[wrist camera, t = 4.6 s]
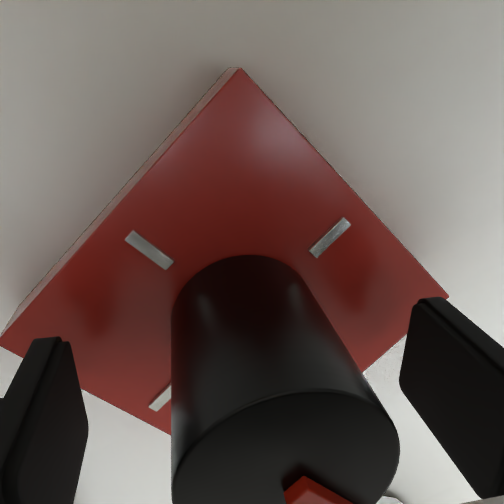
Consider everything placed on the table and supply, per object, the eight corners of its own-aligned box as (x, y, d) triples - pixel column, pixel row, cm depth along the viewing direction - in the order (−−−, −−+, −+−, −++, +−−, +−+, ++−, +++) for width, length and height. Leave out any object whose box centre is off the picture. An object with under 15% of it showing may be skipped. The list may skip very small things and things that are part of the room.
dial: (139, 330, 12) (116, 529, 7) (242, 224, 11) (305, 358, 6) (244, 396, 14) (289, 595, 9) (339, 309, 13) (451, 469, 8)
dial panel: (18, 306, 13) (-8, 347, 11) (229, 66, 11) (241, 66, 10) (237, 432, 17) (245, 478, 15) (418, 270, 16) (453, 299, 14)
